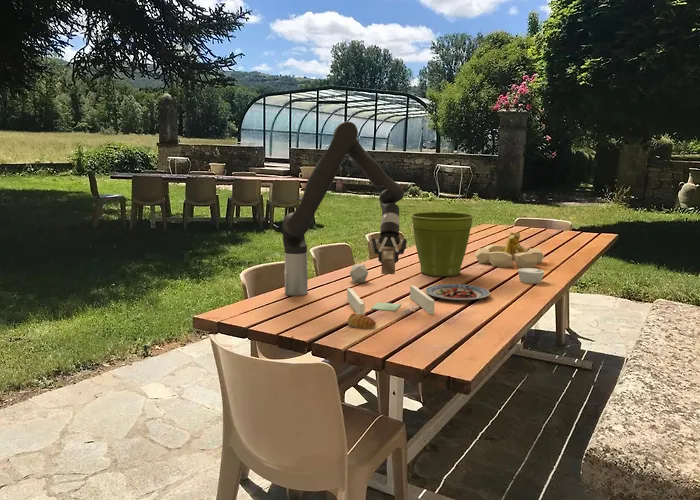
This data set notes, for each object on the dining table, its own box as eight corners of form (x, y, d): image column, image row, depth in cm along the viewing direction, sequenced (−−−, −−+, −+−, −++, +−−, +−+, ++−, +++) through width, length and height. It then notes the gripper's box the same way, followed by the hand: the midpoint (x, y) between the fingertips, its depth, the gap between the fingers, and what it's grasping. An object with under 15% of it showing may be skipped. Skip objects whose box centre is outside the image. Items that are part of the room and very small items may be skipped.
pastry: (379, 326, 181) (379, 315, 181) (369, 331, 176) (369, 320, 175) (355, 321, 186) (355, 310, 186) (345, 326, 181) (345, 315, 180)
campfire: (533, 271, 272) (535, 237, 269) (467, 264, 289) (468, 233, 286) (548, 260, 301) (550, 230, 298) (488, 255, 318) (489, 226, 316)
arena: (360, 318, 190) (360, 304, 189) (347, 300, 213) (347, 288, 212) (434, 314, 195) (434, 300, 194) (413, 297, 218) (414, 285, 217)
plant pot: (417, 265, 285) (418, 211, 280) (474, 269, 275) (477, 213, 270) (403, 277, 257) (404, 216, 252) (467, 281, 247) (469, 218, 243)
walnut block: (381, 274, 208) (381, 248, 206) (382, 271, 213) (382, 246, 211) (394, 274, 207) (394, 248, 205) (395, 271, 212) (395, 246, 211)
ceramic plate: (497, 293, 226) (497, 286, 226) (478, 307, 204) (478, 300, 204) (439, 286, 239) (439, 279, 239) (415, 299, 217) (415, 291, 217)
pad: (371, 309, 201) (371, 308, 201) (378, 303, 209) (378, 302, 209) (394, 311, 198) (394, 310, 198) (400, 305, 207) (400, 304, 206)
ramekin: (545, 284, 242) (545, 273, 241) (518, 283, 244) (519, 272, 243) (541, 279, 252) (542, 268, 252) (516, 278, 255) (517, 267, 254)
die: (361, 286, 241) (373, 267, 243) (345, 276, 242) (356, 257, 244) (361, 288, 249) (372, 270, 251) (345, 278, 250) (356, 261, 252)
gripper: (371, 220, 215) (369, 256, 205) (408, 221, 213) (407, 256, 204) (372, 232, 221) (370, 267, 211) (407, 232, 220) (407, 267, 210)
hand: (388, 261), depth 208 cm, fingers closed on walnut block, 5 cm apart
